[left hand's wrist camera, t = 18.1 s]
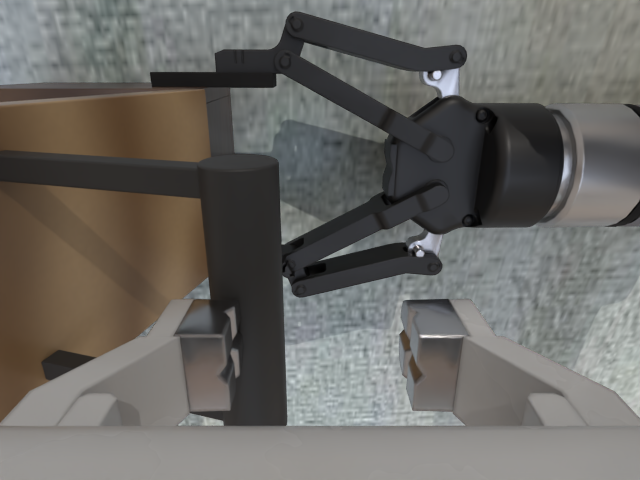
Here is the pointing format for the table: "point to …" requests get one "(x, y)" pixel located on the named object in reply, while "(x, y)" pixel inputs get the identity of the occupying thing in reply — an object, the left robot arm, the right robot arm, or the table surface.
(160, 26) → the table surface
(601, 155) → the right robot arm
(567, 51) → the table surface
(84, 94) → the chest
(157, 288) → the lid
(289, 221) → the table surface
